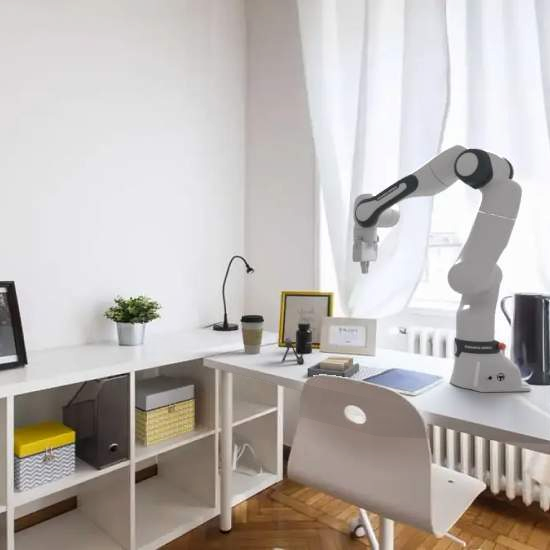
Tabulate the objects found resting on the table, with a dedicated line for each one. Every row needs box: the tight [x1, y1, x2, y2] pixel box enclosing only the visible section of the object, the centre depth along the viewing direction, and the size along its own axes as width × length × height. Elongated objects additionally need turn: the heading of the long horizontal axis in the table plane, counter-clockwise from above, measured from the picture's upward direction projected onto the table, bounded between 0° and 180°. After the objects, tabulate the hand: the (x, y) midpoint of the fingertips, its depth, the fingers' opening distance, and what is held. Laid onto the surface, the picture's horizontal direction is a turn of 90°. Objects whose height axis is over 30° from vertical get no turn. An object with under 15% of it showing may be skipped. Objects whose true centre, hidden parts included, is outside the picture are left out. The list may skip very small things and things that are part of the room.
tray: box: [307, 361, 360, 378], centre depth 166 cm, size 13×15×2 cm
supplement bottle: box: [295, 322, 313, 355], centre depth 200 cm, size 7×7×12 cm
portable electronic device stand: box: [281, 337, 305, 365], centre depth 183 cm, size 9×8×8 cm
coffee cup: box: [239, 314, 265, 355], centre depth 200 cm, size 10×10×15 cm
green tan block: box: [320, 355, 354, 372], centre depth 168 cm, size 4×8×11 cm
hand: (364, 273), depth 186 cm, fingers closed
